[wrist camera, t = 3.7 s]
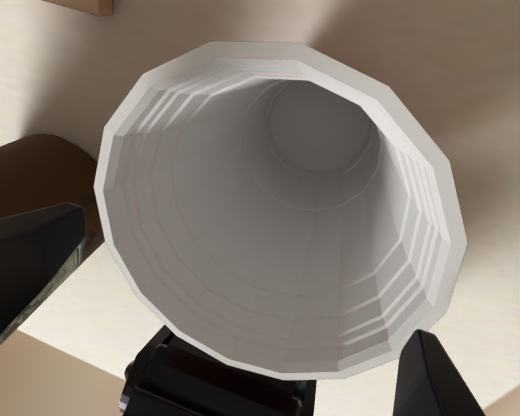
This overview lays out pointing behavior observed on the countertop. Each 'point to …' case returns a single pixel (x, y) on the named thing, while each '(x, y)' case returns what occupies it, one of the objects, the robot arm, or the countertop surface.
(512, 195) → the countertop surface
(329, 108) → the plastic cup
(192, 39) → the countertop surface
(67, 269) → the olive oil
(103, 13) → the square tan coaster
